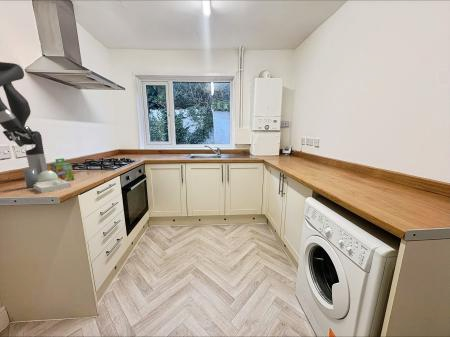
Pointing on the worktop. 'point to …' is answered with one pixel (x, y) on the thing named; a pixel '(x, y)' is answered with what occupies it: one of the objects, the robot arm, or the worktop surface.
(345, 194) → the worktop surface
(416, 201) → the worktop surface
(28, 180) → the grey domed cylinder
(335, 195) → the worktop surface
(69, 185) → the white divided tray
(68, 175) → the chalk box
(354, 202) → the worktop surface
